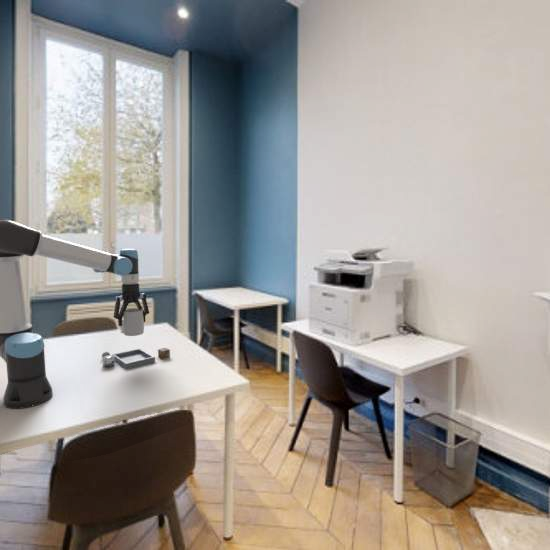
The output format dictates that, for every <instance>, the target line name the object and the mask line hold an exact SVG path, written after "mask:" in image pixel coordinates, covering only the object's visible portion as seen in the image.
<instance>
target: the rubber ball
mask: <svg viewBox="0 0 550 550" xmlns="http://www.w3.org/2000/svg"><path fill="white" fill-rule="evenodd" d="M108 355H111V354H110V352H109V351H105V352H103V353H102V354H101V358H102V357H104V356H108Z"/></svg>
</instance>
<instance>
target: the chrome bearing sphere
mask: <svg viewBox="0 0 550 550" xmlns="http://www.w3.org/2000/svg"><path fill="white" fill-rule="evenodd" d="M101 360H102V367H103V368H105V369H106V368H107V369H108V368H113V367H115V361H114V356H112V354H110V355H108V356H104V357H102V356H101Z"/></svg>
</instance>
